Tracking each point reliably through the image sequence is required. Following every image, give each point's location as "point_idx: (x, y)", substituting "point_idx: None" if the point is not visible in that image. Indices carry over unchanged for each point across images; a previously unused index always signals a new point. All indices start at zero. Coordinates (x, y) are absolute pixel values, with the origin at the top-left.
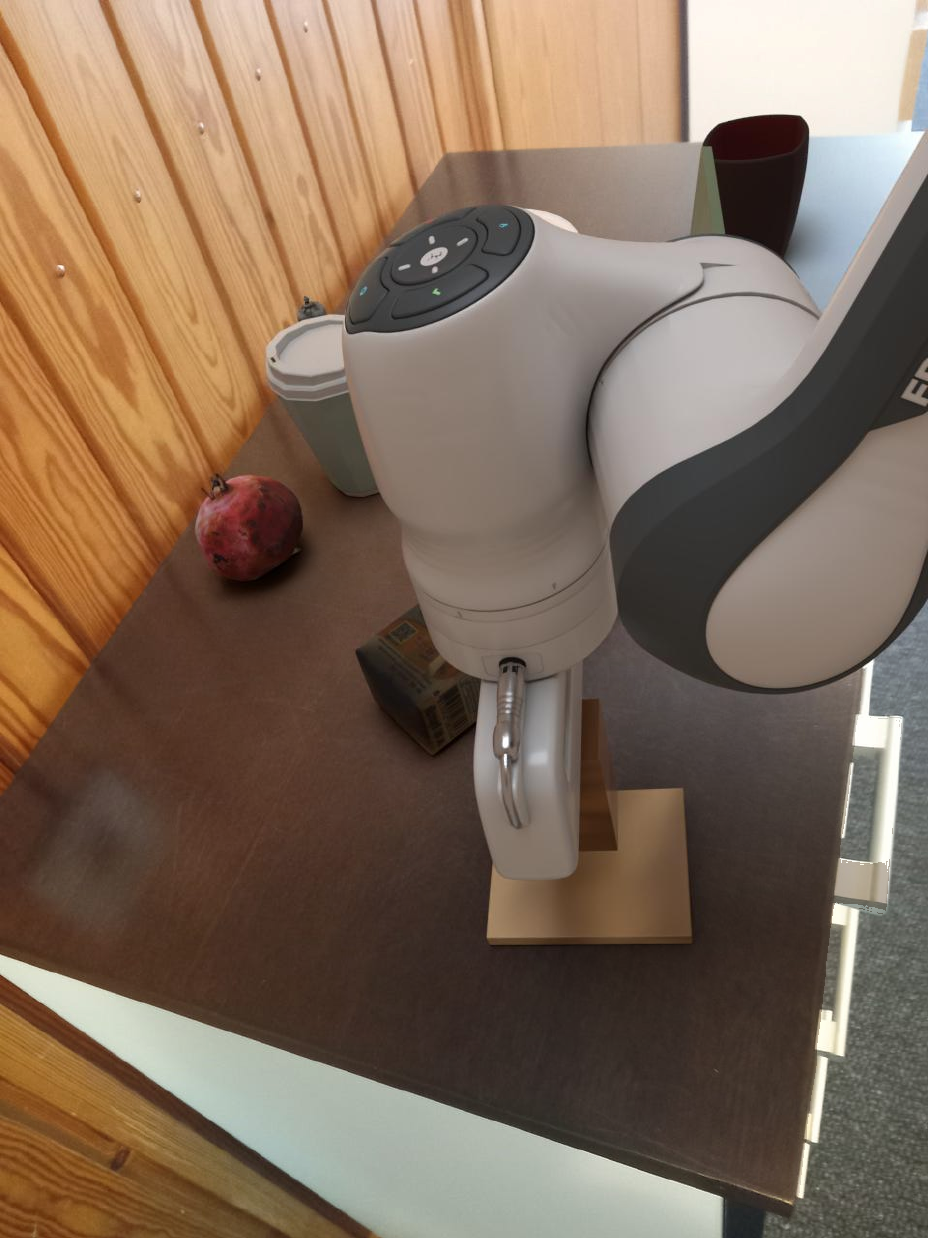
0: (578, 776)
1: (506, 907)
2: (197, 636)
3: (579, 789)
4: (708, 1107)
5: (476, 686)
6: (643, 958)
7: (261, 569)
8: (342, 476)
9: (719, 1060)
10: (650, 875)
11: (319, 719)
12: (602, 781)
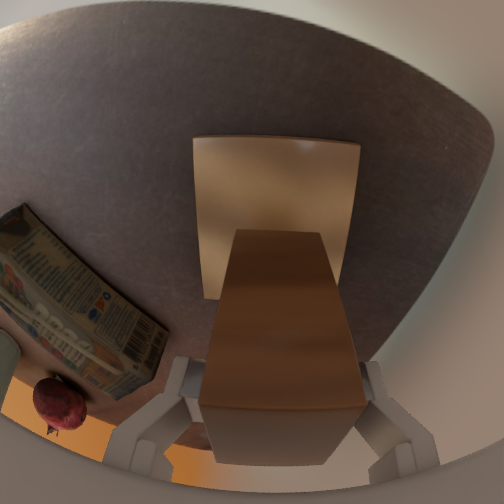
0: (479, 489)
1: None
2: (118, 411)
3: (487, 471)
4: (463, 159)
5: (115, 329)
6: (362, 185)
7: (76, 399)
8: (14, 362)
9: (441, 143)
10: (295, 175)
11: (153, 379)
12: (354, 349)
